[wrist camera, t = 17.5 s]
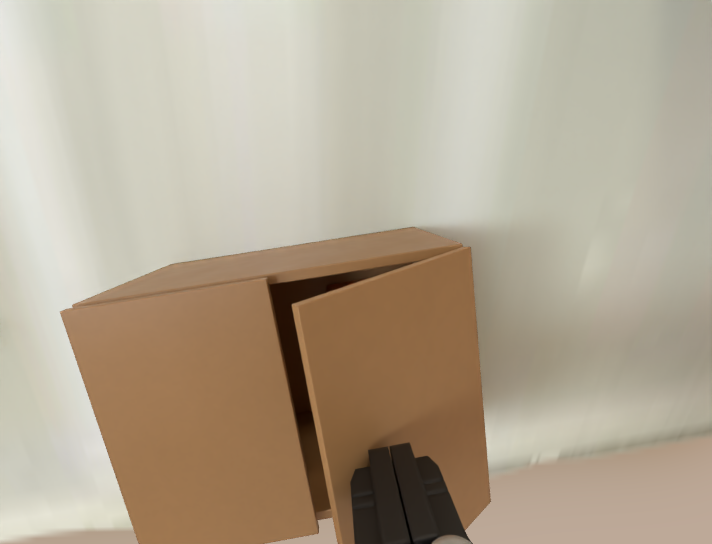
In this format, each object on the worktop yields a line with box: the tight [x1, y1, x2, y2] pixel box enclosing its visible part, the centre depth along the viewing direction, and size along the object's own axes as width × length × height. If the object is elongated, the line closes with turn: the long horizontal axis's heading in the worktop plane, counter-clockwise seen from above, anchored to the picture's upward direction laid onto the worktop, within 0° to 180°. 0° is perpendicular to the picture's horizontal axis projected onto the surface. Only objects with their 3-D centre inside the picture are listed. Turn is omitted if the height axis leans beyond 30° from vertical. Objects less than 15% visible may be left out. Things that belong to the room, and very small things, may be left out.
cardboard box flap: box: [292, 247, 491, 544], centre depth 14 cm, size 8×13×1 cm
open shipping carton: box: [60, 227, 463, 544], centre depth 21 cm, size 17×13×10 cm
